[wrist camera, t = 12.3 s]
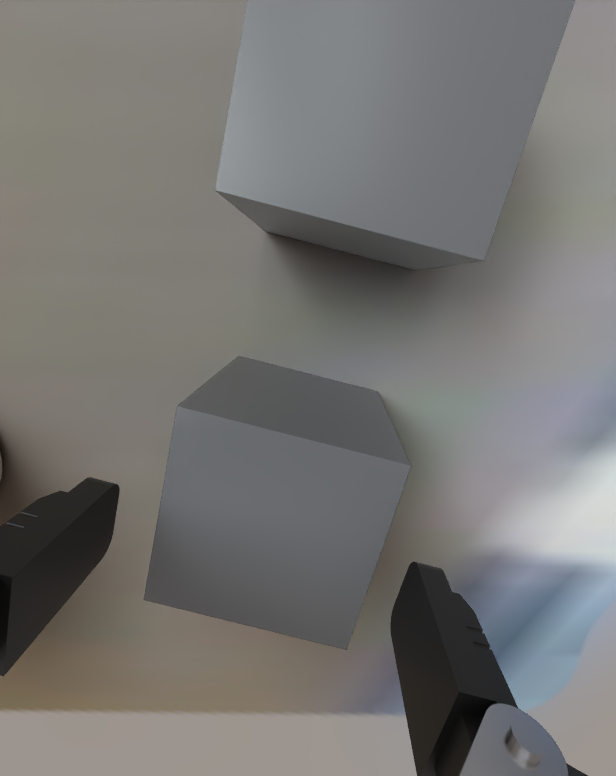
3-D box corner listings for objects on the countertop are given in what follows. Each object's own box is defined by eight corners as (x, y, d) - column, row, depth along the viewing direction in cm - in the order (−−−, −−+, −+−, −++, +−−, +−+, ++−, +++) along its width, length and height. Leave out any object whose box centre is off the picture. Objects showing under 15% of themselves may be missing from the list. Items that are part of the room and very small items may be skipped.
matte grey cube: (302, 50, 14) (277, -174, 7) (469, 95, 14) (603, -83, 7) (265, 231, 15) (214, 189, 9) (415, 270, 15) (484, 260, 9)
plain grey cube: (238, 356, 17) (177, 405, 10) (377, 391, 17) (411, 465, 10) (212, 482, 18) (143, 599, 11) (339, 513, 18) (346, 650, 12)
